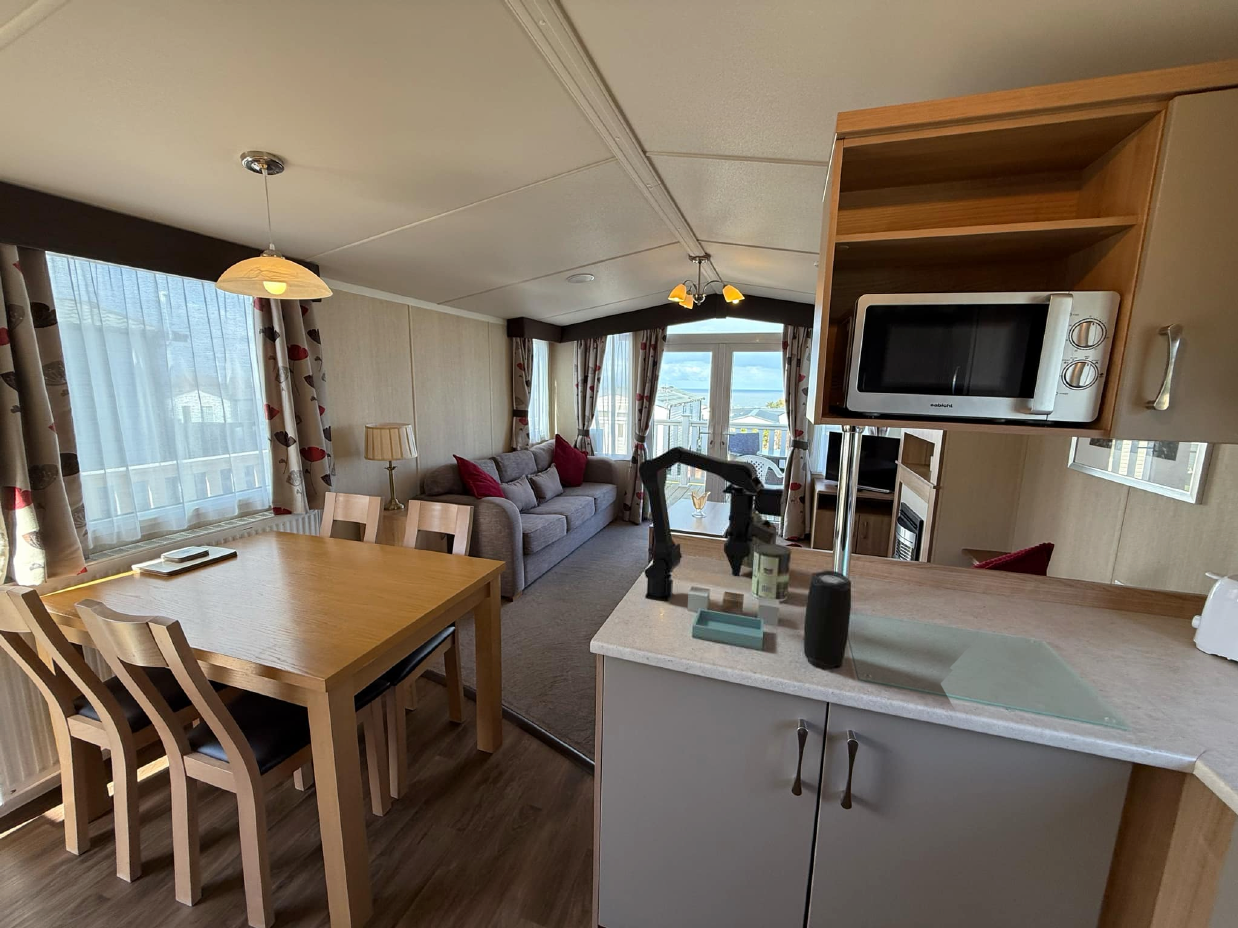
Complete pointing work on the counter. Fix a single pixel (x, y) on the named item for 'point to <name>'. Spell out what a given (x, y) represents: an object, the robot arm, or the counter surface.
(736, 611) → the walnut block
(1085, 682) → the counter surface
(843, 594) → the portable speaker
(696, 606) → the grey block left
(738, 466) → the robot arm
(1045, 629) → the counter surface
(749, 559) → the tabletop clock
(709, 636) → the tray
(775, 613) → the grey block right
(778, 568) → the coffee can
